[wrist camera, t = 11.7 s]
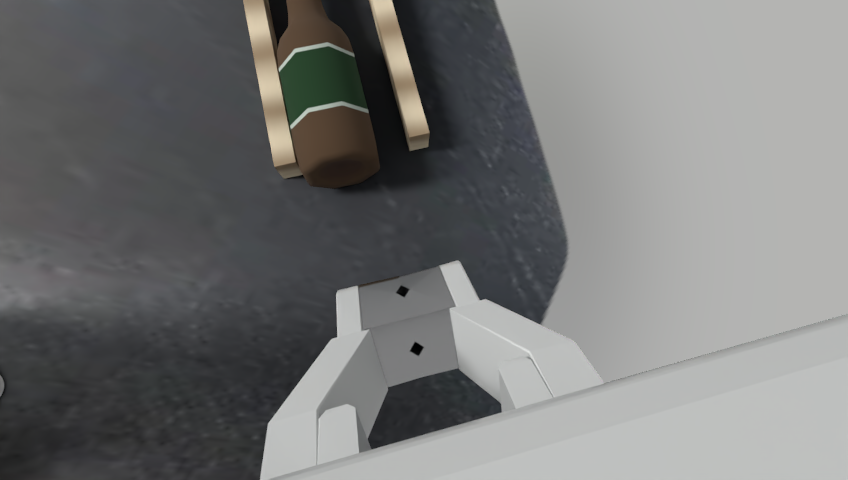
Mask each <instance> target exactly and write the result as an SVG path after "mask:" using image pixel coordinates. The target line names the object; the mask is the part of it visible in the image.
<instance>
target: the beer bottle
mask: <svg viewBox="0 0 848 480" xmlns="http://www.w3.org/2000/svg"><path fill="white" fill-rule="evenodd" d="M286 2H287V9H288V28H287V29H286V31H285V32H284V34H283V35H282V37H281V38H280V41H279V45H278V49H277V59H278V68H279V73H280V78H281V83H282V88H283V93H284V98H285V103H286V108H287V113H288V118H289V123H290V128H291V133H292V138H293V143H294V148H295V153H296V157H297V160H298V164H299V168H300V171H301V173H302V174H303V176H304V177H305V179H306V180H307V182H308V183H309V185H310V186H315V187H323V188H332V189H336V188H340V187H345V186H349V185H354V184H358V183H362V182H363V181H365V180H366V179H368V178H369V177H371V176H372V175H374V174H375V173H377V172H378V171H379V169H380V163H379V157H378V152H377V146H376V141H375V136H374V132H373V128H372V124H371V120H370V116H369V112H368V108H367V104H366V100H365V96H364V92H363V88H362V84H361V80H360V76H359V72H358V68H357V64H356V60H355V56H354V52H353V49H352V47H351V44H350V41H349V38H348V37H347V35H346V34H345V33H344V31H343V30H342V29H341V28H340V27H339V26H338V25H336V24H335V23H333V22H332V21H330V20H329V19H328V17H327V15H326V13H325V11H324V8H323V6H322V2H321V0H286Z"/></svg>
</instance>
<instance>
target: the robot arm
mask: <svg viewBox="0 0 848 480" xmlns="http://www.w3.org/2000/svg"><path fill="white" fill-rule="evenodd" d="M336 305H337V338H333V339H331V340H330V341H329V343H328V344H327V345H326V347H325V348H324V349H323V351H322V352H321V353H320V355H319V356H318V357H317V359H316V360H315V361H314V363H313V364H312V365H311V367H310V368H309V369H308V371H307V372H306V373H305V375H304V376H303V377H302V379H301V380H300V382H299V383H298V384H297V386H296V387H295V388H294V390H293V391H292V392H291V394H290V395H289V396H288V398H287V399H286V400H285V402H284V403H283V404H282V406H281V407H280V408H279V410H278V411H277V412H276V414H275V415H274V416H273V418H272V419H271V420H270V422H269V423H268V427H267V434H266V441H265V448H264V455H263V462H262V469H261V476H260V480H848V314H846V315H842V316H839V317H836V318H832V319H828V320H825V321H822V322H818V323H814V324H811V325H807V326H804V327H801V328H797V329H793V330H790V331H786V332H783V333H779V334H776V335H772V336H769V337H766V338H762V339H758V340H755V341H751V342H748V343H744V344H741V345H737V346H734V347H730V348H727V349H723V350H720V351H716V352H713V353H709V354H705V355H702V356H698V357H695V358H691V359H688V360H684V361H681V362H677V363H674V364H670V365H667V366H663V367H660V368H656V369H653V370H649V371H646V372H642V373H639V374H635V375H632V376H628V377H625V378H621V379H618V380H614V381H611V382H607V383H604V382H603V380H602V379H601V378H600V376H599V375H598V373H597V372H596V371H595V369H594V368H593V366H592V365H591V364H590V362H589V361H588V360H587V358H586V357H585V355H584V354H583V353H582V351H581V350H580V349H579V347H578V345H577V344H576V343H575V341H573V340H571V339H569V338H567V337H565V336H563V335H561V334H559V333H556V332H554V331H552V330H550V329H548V328H546V327H544V326H542V325H540V324H537V323H535V322H533V321H531V320H529V319H527V318H525V317H523V316H521V315H518V314H516V313H514V312H512V311H510V310H508V309H506V308H504V307H502V306H499V305H497V304H495V303H493V302H491V301H489V300H487V299H484V300H479V298H478V296H477V294H476V292H475V290H474V288H473V286H472V284H471V282H470V280H469V278H468V276H467V274H466V272H465V270H464V268H463V266H462V264H461V262H459V261H458V260H457V261H454V262H450V263H447V264H443V265H440V266H438V267H434V268H431V269H427V270H423V271H419V272H415V273H411V274H407V275H403V276H398V277H393V278H389V279H384V280H380V281H375V282H371V283H367V284H362V285H359V286H354V287H350V288H346V289H342V290H338V291H337V294H336ZM457 368H459V370H460V371H462V372H463V373H464V374H465V375H467V376H468V377H469V378H470V379H472V380H473V381H474V382H475V383H476V384H478V385H479V386H480V387H481V388H483V389H484V390H485V391H486V392H488V393H489V394H490V395H491V396H493V397H494V398H495V399H496V400H498V401H499V402H500V403H501V407H502V413H498V414H495V415H491V416H488V417H484V418H481V419H477V420H474V421H470V422H466V423H463V424H459V425H456V426H452V427H449V428H445V429H442V430H438V431H435V432H431V433H428V434H424V435H421V436H417V437H414V438H410V439H407V440H403V441H400V442H396V443H393V444H389V445H386V446H382V447H379V448H375V449H372V450H371V447H370V445H369V442H368V437H369V434H370V432H371V429H372V427H373V425H374V422H375V420H376V417H377V415H378V413H379V410H380V408H381V406H382V403H383V401H384V398H385V396H386V394H387V391H388V387H391V386H394V385H397V384H401V383H404V382H407V381H411V380H414V379H417V378H421V377H424V376H428V375H433V374H437V373H441V372H445V371H449V370H453V369H457ZM3 390H4V381H3V379H2V377H1V375H0V397H1V395H2V393H3Z"/></svg>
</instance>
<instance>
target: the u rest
mask: <svg viewBox="0 0 848 480" xmlns="http://www.w3.org/2000/svg"><path fill="white" fill-rule="evenodd" d="M243 2H244V7H245V12H246V18H247V23H248V28H249V34H250V39H251V44H252V50H253V55H254V60H255V66H256V71H257V76H258V82H259V87H260V92H261V98H262V103H263V108H264V114H265V119H266V124H267V130H268V135H269V140H270V146H271V151H272V156H273V162H274V167H275V168H276V169H277V171H278V172H279V173H280V175H281V176H282V177H283V178H284V179H286V178H290V177H295V176H299V175H303V174H302V173H301V171H300V168H299V164H298V160H297V157H296V153H295V148H294V143H293V138H292V133H291V128H290V123H289V118H288V113H287V108H286V103H285V98H284V93H283V88H282V83H281V78H280V73H279V68H278V59H277V49H278V46H277V41H276V36H275V31H274V26H273V21H272V16H271V12H270V7H269V2H268V0H243ZM369 3H370V6H371V10H372V14H373V18H374V21H375V25H376V29H377V32H378V36H379V40H380V43H381V47H382V51H383V55H384V58H385V62H386V66H387V69H388V73H389V77H390V81H391V84H392V88H393V92H394V95H395V99H396V103H397V106H398V110H399V114H400V118H401V121H402V125H403V129H404V132H405V136H406V140H407V144H408V147H409V151H412V150H417V149H421V148H426V147H428V144H429V134H430V132H429V129H428V125H427V122H426V118H425V115H424V111H423V108H422V104H421V101H420V97H419V94H418V90H417V87H416V83H415V80H414V76H413V73H412V69H411V66H410V62H409V59H408V55H407V52H406V48H405V45H404V41H403V38H402V34H401V31H400V27H399V24H398V20H397V17H396V13H395V10H394V6H393V3H392V0H369Z"/></svg>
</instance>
